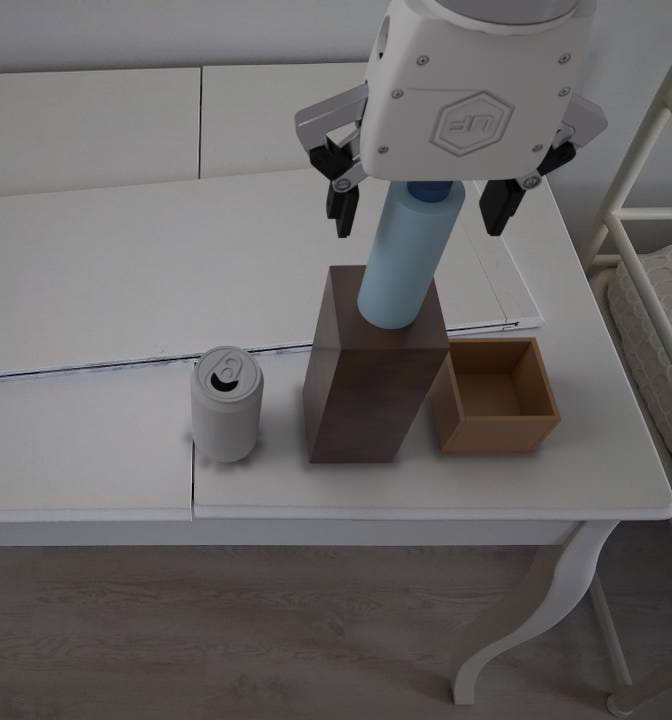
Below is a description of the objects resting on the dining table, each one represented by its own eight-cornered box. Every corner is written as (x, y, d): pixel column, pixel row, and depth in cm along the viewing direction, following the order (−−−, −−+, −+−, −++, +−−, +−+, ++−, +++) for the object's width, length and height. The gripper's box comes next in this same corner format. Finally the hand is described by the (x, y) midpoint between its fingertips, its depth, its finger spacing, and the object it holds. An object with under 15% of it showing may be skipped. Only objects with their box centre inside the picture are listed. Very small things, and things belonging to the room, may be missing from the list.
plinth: (380, 391, 74) (430, 263, 57) (392, 462, 69) (450, 348, 53) (302, 392, 74) (329, 265, 57) (309, 463, 70) (340, 349, 53)
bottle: (423, 290, 56) (475, 159, 45) (412, 336, 53) (464, 211, 42) (364, 275, 56) (401, 143, 46) (351, 320, 54) (386, 193, 43)
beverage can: (182, 452, 70) (178, 391, 60) (206, 399, 74) (206, 332, 64) (244, 475, 69) (250, 415, 59) (265, 419, 72) (275, 354, 62)
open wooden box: (511, 372, 75) (535, 336, 69) (534, 451, 70) (561, 420, 64) (424, 373, 75) (441, 338, 69) (440, 452, 70) (460, 421, 64)
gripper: (324, 9, 31) (286, 267, 45) (730, 3, 31) (562, 264, 45) (308, -81, 35) (278, 182, 49) (667, -87, 35) (532, 179, 49)
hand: (414, 221), depth 47 cm, fingers open, 9 cm apart
